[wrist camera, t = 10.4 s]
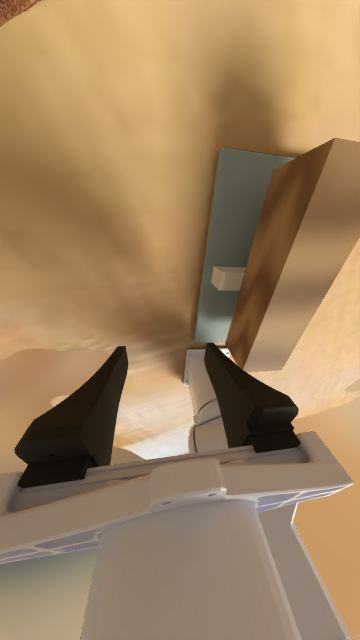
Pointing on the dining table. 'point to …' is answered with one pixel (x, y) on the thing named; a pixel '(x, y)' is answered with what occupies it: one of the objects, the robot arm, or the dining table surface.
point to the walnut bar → (296, 252)
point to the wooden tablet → (13, 8)
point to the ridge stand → (231, 236)
